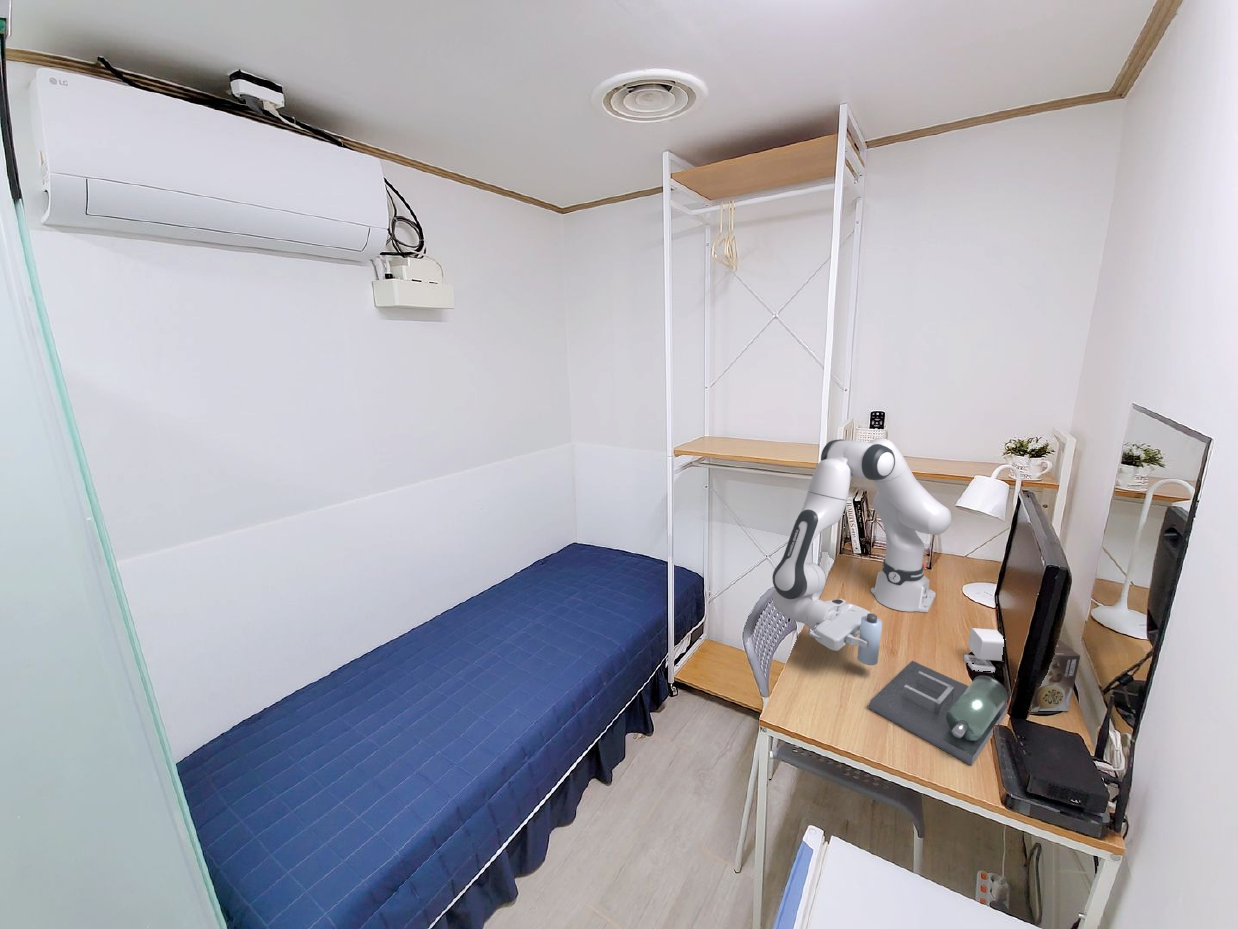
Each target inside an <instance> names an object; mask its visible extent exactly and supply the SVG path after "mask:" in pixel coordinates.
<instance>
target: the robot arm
mask: <svg viewBox="0 0 1238 929" xmlns="http://www.w3.org/2000/svg"><path fill="white" fill-rule="evenodd" d="M854 478H857V479H867V480H871V481H872V482H873V484H874V485H875V488H876V490H878V491H877V492H876V493H875V494H874V497H873V500H872V508H873V510H874V512H876V514H877V515H878V517H879V518H880V521H881V523H882V526H883V529H884V532H885V539H886V540H885V542H886V544H885V556H884V559H883V563H882V569H881V570H880V571H878V573H877V576H876V581H875V586H873V587H871V588H870V592H871V593H872V594H873V595H874V597H875V599H876V601H877V602H879V603H880V604H881V605H883V606H885V607H887V608H889V609H893V610H897V611H901V612H909V613H910V612H912V613H913V612H920V613H929V612H930V609H931V607H932V605H933V603H934V601H935V599H936V596H937V593H936V592H935V591H933V590H932V589H931V588H930V582H931V581H930V579H929V578H928V577H927V576H925V575H924V573H925V570H924V569H926V567H927V563H926V562H924V553H925V543H924V541H923V540H922V539H921V537H920V536H919V535H918V533H922V534H926V535H930V536H931V535H932V536H939V535H941V534H944V532H946V531H948V529H949V527H950V526H951V524H952V513H951V511H950V509H949V508H948V507H946V506H945V505H943V503H941V502H939V501H938V500H937V499H935V497H933V496H932V494H930V492H929V491H928V490H927V489H925V488H924V486H922V484H921V483H920V482H919V481H918V480H917V479H916V477H915V475H914V474H913V472H912V470H911V468H910V466H909V465H908V462H907V460H906V459H905V456H904V455H903V454H902V452H901V451H900V450H899V448H898V447H897V446H896V445H895V443H894V442H892V441H891V440H889V439H888V438H883V437H882V438H881V437H880V438H874V439H871V440H869V441H862V440H851V439H850V440H849V439H847V440H846V439H832V440H830V441H829V442H827V443H826V445H824V447H823V449H822V451H821V454H820V461H819V462H818V464H817V465H816V468H815V469H814V471H813V474H812V477H811V480H810V482H809V486H808V489H807V494H806V495H805V496H806V497H805V500H804V503H803V505H802V506H803V507H802V508H801V511H800V513H799V514H798V516H797V519H796V520H795V522H794V525H793V528H792V531H791V533H790V536H789V539H788V542H787V544H786V548H785V551H784V554H783V556H782V558H781V560H780V562H779V563H778V564H777V566H776V567H775V568H774V570H773V573H772V579H771V580H772V584H773V587H774V591H773V593H772V604H773V606H774V608H775V609H776V611H778V613H781V614H782V615H784V617H785V616H786V617H787V618H788V619H791V620H792V621H794V622H797V623H801V624H804V625H805V626H806V627H808V629H807V630H808V634H809V636H810V637H812V638H814V639H815V640H816V641H817V643H820V644H821V645H823V646H825V647H826V648H828V649H829V650H832V651H836V652H837V651H840V650H841V649H843V648H844V647H845V646H846V645H847V644H849V645H850V646H861V647H863V648H866V647H867V646H868V643H869V641H868V640H866V639H864V638H861V639H860V638H859V637H858V636H859V635H860V627H861V618H862V617H863V616H867V614H869V613H871V614H872V612H871V611H869V610H868V609H865V608H864V607H861V606H859V605H856V604H853V603H847V601H846V600H845V599H842V598H837V599H832V600H831V599H830V600H825V601H824V600H822V599H820V598H821V597H822V595H823V592H824V590H825V587H826V585H827V575H826V572H825V570H824V569H823V568H822V567H821V566H820V565H818V564H817V563H814V562H807V561H808V557H809V554H810V551H811V548H812V546H813V543H814V541H815V539H816V537H817V536H818V535H820V533H822V532H823V531H824V530H826V529H828V528H829V527H832V526H833V525H835V524H837V523H838V522H840V519H841V518H842V516H843V514H844V512H845V509H846V506H847V502H848V497H849V494H850V487H851V485H850V484H851V481H852V479H854ZM917 532H918V533H917Z"/></svg>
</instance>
